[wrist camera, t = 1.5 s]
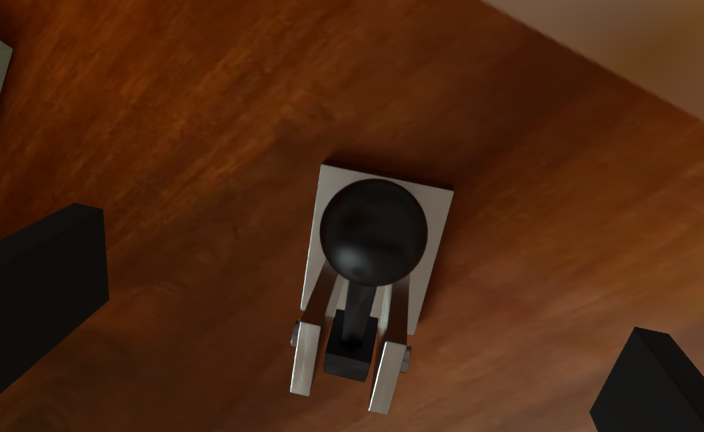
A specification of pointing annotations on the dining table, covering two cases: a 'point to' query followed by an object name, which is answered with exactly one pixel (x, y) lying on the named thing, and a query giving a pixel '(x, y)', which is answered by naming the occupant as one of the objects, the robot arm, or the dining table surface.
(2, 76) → the block
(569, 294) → the dining table surface
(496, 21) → the dining table surface
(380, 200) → the lever
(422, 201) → the bracket
